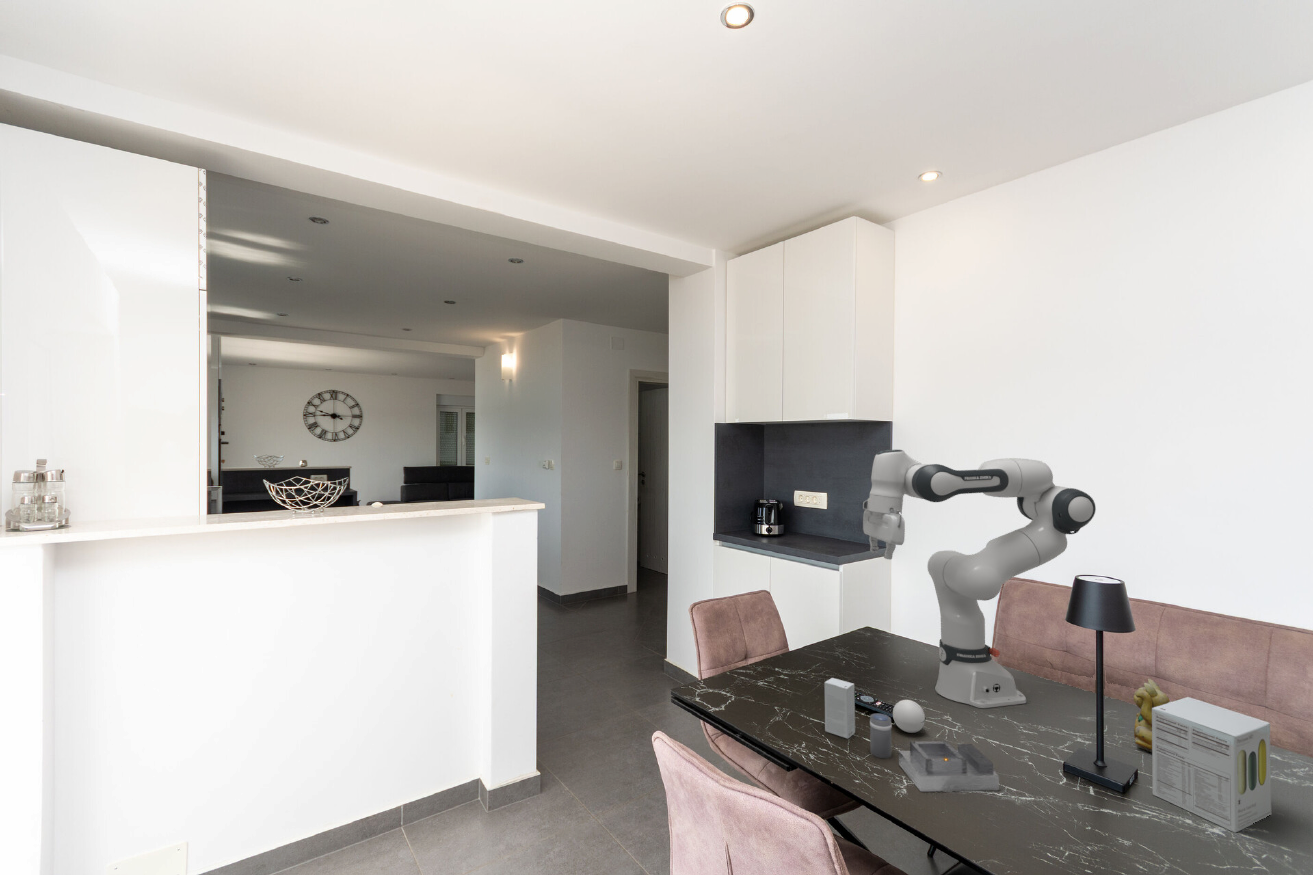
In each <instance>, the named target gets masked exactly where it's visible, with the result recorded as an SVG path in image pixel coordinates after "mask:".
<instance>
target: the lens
mask: <svg viewBox="0 0 1313 875" xmlns="http://www.w3.org/2000/svg"><path fill="white" fill-rule="evenodd" d="M869 726H870V732H869V734H870V736H869V737H870V738H869V739H870V753H871V755H872V756H874V757H875V758H880V759H889V758H891V757H892V718H891V717H890V716H889V715H887V714H883V713H880V712H879V713H872V714H870V715H869Z"/></svg>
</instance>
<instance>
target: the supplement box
mask: <svg viewBox="0 0 1313 875" xmlns="http://www.w3.org/2000/svg"><path fill="white" fill-rule="evenodd" d="M1151 753H1152V754H1151V755H1152V757H1151V758H1152V760H1151V761H1152V766H1151V768H1152V795H1154V796H1155V797H1158V798H1159V799H1162V800H1164V801H1166V802H1168V803H1171V804H1172V805H1175V806H1176V807H1179V808H1181V809H1183V810H1185V811H1188V812H1189V813H1191V814H1194V815H1196V816H1198V817H1200V818H1202V819H1205V820H1207V821H1208V822H1211V823H1213V824H1215V825H1217V826H1219V827H1221V828H1224V829H1226V830H1229V831H1230V832H1232V833H1234V834H1235V833H1238V832H1240V831H1242V830H1244V829H1246V828H1247V827H1251V826H1252V825H1254V824H1256V823H1255V822H1257V821H1259V820H1261V819H1262V818H1265V819H1266V817H1267V816H1269V815H1271V816H1272V781H1271V780H1272V779H1271V774H1272V773H1271V767H1272V766H1271V723H1270V722H1268V721H1265V720H1262V719H1259V718H1256V717H1253V716H1250V715H1246V714H1244V713H1240V712H1237V711H1234V710H1231V709H1227V708H1225V707H1221V706H1218V705H1215V704H1212V703H1208V702H1205V701H1202V700H1200V699H1195V698H1193V697H1190V696H1186V697H1183V698H1181V699H1180V698H1179V699H1178V700H1174V701H1170V702H1169V703H1167V704H1164V705H1160V706H1157V707H1154V708H1152V752H1151ZM1269 817H1270V816H1269ZM1267 818H1268V817H1267ZM1261 821H1262V820H1261ZM1259 822H1260V821H1259ZM1253 823H1254V824H1253ZM1257 823H1258V822H1257Z"/></svg>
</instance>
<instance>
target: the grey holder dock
mask: <svg viewBox="0 0 1313 875" xmlns="http://www.w3.org/2000/svg"><path fill="white" fill-rule="evenodd" d="M909 748H910V749H909V750H898V765H899V767H900V768H901V769H902V770H903V771H904V773H905V774H906V775H907V776H908V778H909V779H910V780H911V782H912V783H913V784H914V785H915V787H916V788H917V789H918V790H919V791H920V792H923V793H925V792H969V791H970V792H971V791H972V792H973V791H975V792H976V791H978V792H979V791H980V792H981V791H999V790H1000V775H999V774H998V773H997V772H996V771H995V770H994V763H993V762H992V761H991V760H990V759H989V758H988V757H987V756H986V755H984V754H983V753H982V752H981V751H980V750H979V749H978V748H977V747H976V746H974V745H973V744H972V743H960V744H959V743H958V744H957V749H955V748H954V747H953V746H952V745H951V744H950V743H949V742H948V741H946V740H941V741H940V740H939V741H937V740H936V741H935V740H932V741H931V740H930V741H929V740H928V741H909Z"/></svg>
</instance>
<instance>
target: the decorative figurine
mask: <svg viewBox="0 0 1313 875" xmlns="http://www.w3.org/2000/svg"><path fill="white" fill-rule="evenodd" d="M1143 685H1144V686H1143V687H1142V686H1141V687H1139V688H1138V689H1137V690H1135V691H1134V695H1133V701H1134V703H1135V705H1136V706H1137V707H1138V708H1139V709H1140V712H1137V713H1136V715H1135V716H1136V719H1135V720H1134V721H1135V722H1134V726H1133V727H1134V728H1133V734H1134V736H1133V737H1134V744H1136V745H1137V748H1138V749H1142V750H1144V751H1146V752H1147V751H1148V752H1150V753H1152V708H1154V707H1157V706H1160V705H1164V704H1167V703H1169V702H1171V701H1170V698H1169V696H1168V695H1167V694H1166V693H1165V692H1163V691H1162V690H1161V688H1160V686H1159V685H1158V683H1157V682H1155V681H1154V680H1153V679H1151V678H1147V682H1143Z"/></svg>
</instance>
